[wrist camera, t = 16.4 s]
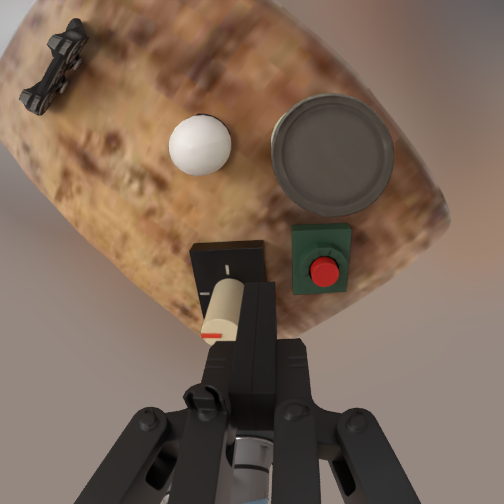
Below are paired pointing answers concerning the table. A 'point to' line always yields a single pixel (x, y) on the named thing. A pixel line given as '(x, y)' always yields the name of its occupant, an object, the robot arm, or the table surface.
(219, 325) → the dial
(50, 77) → the game controller
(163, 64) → the table surface
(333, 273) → the red button
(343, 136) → the coffee can
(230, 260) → the panel
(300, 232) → the button box
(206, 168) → the white sphere
